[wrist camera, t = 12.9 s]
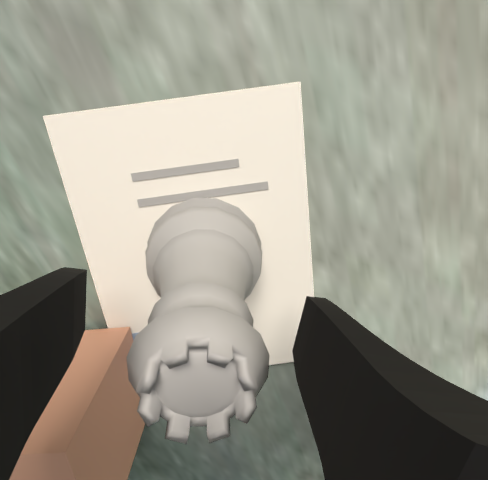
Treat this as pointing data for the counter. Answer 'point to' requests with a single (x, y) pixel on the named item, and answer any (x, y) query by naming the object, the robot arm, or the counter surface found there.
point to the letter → (191, 193)
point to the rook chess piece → (200, 321)
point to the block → (88, 417)
